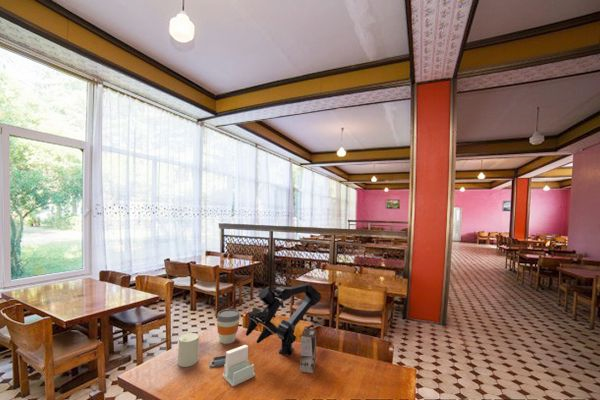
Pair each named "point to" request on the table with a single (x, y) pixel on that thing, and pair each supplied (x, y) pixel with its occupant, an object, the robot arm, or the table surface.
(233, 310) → the reusable coffee cup
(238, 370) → the dish rack
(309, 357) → the coffee box
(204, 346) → the table surface
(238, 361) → the white block
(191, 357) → the can
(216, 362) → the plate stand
